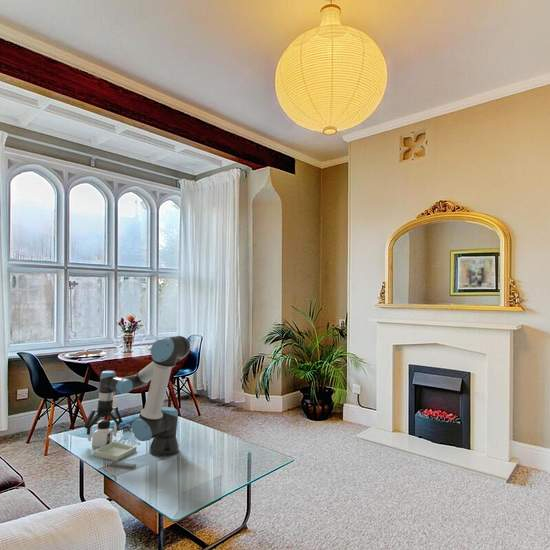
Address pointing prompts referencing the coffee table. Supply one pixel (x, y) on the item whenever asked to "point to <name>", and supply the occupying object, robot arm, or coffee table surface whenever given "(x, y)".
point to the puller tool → (123, 465)
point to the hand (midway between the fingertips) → (102, 438)
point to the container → (102, 434)
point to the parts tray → (114, 451)
